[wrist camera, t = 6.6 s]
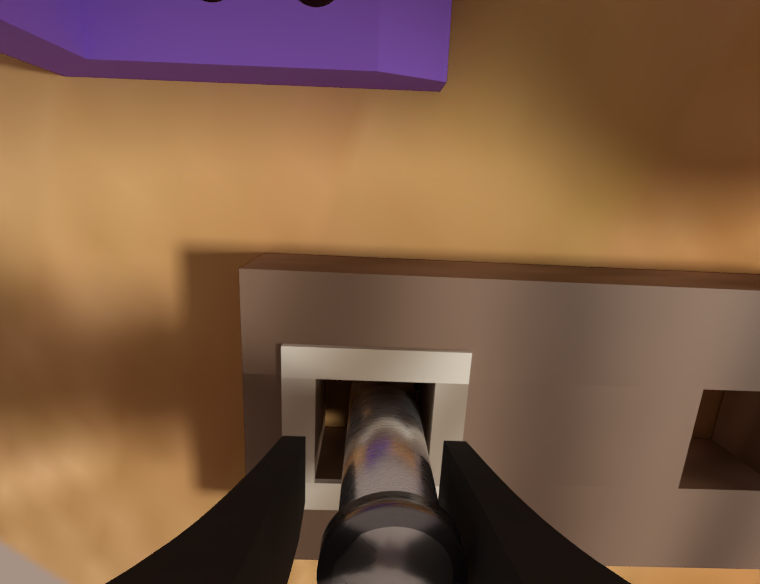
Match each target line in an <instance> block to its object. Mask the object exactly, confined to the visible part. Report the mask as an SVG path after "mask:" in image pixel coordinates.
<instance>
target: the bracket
mask: <svg viewBox="0 0 760 584" xmlns="http://www.w3.org/2000/svg"><path fill="white" fill-rule="evenodd" d="M451 8H452V0H334V1H332V2H331V3H330V4H328V5H326V6H323V7H310V6H307V5H305V4H303V3H301V2H300V1H299V0H222V1H219V2H213V3H212V2H205V1H202V0H0V53H3V54H5V55H8V56H11V57H13V58H16V59H19V60H22V61H24V62H27V63H30V64H32V65H35V66H38V67H41V68H43V69H46V70H49V71H51V72H54V73H57V74H60V75H62V76H70V77H94V78H119V79H144V80H168V81H193V82H217V83H242V84H266V85H291V86H316V87H340V88H365V89H389V90H414V91H438V92H440V91H441V90H442V88H443V87H444V85H445V84H446V82H447V69H448V54H449V39H450V23H451Z"/></svg>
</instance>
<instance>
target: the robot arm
mask: <svg viewBox="0 0 760 584" xmlns="http://www.w3.org/2000/svg"><path fill="white" fill-rule="evenodd" d="M305 469H306V436H282V437H281V438H280V439H279V440H278V441H277V442H276V443H275V444H274V445H273V447H272V448H271V449H270V450H269V451H268V452H267V453H266V454H265V456H264V457H263V458H262V459H261V460H260V461H259V462H258V463H257V464H256V465H255V467H254V468H253V469H252V470H251V471H250V472H249V473H248V474H247V475H246V476H245V477H244V478H243V479H242V480H241V481H240V482H239V483H238V484H237V485H236V486H235V487H234V488H233V489H232V490H231V491H230V492H229V493H228V494H227V495H225V496H224V497H223V498H222V499H221V500H220V501H219V502H218V503H217V504H216V505H215V506H214V507H212V508H211V509H210V510H209V511H208V512H207V513H206V514H204V515H203V516H202V517H201V518H200V519H199V520H197V521H196V522H195V523H194V524H193V525H191V526H190V527H189V528H187V529H186V530H185V531H184V532H182V533H181V534H180V535H178V536H177V537H176V538H174V539H173V540H172V541H170V542H169V543H167V544H166V545H164V546H163V547H161V548H160V549H158V550H157V551H156V552H154V553H153V554H151V555H150V556H148V557H147V558H145V559H144V560H142V561H141V562H139V563H138V564H136V565H135V566H133V567H132V568H130V569H129V570H127V571H126V572H124V573H122V574H121V575H119V576H117V577H116V578H114V579H112V580H111V581H109V582H107V583H106V584H287V582H288V579H289V575H290V572H291V568H292V564H293V561H294V557H295V553H296V550H297V546H298V542H299V537H300V531H301V526H302V519H303V513H304V507H305ZM438 501H439V506H441V507H442V508H443V509H444V510H445V511H446V512H447V513H448V514H449V515H450V516H451V517H452V519H453V520H454V522H455V523H456V525H457V527H458V530H459V532H460V535H461V539H462V543H463V547H464V551H465V555H466V559H467V564H468V582H467V584H631V583H629V582H628V581H626V580H624V579H623V578H621V577H620V576H619V575H617V574H616V573H614V572H613V571H611V570H610V569H608V568H607V567H605V566H604V565H602V564H601V563H599V562H598V561H596V560H595V559H594V558H592V557H591V556H589V555H588V554H587V553H585V552H584V551H582V550H581V549H580V548H578V547H577V546H576V545H575V544H573V543H572V542H571V541H570V540H568V539H567V538H566V537H564V536H563V535H562V534H561V533H559V532H558V531H557V530H555V529H554V528H553V527H552V526H551V525H550V524H548V523H547V522H546V521H545V520H544V519H542V518H541V517H540V516H539V515H538V514H537V513H536V512H535V511H534V510H533V509H531V508H530V507H529V506H528V505H527V504H526V503H525V502H524V501H523V500H522V499H521V498H520V497H519V496H517V495H516V494H515V493H514V492H513V491H512V490H511V489H510V488H509V487H508V486H507V485H506V484H505V483H504V482H503V481H502V480H501V478H500V477H499V476H498V475H497V474H496V473H495V472H494V471H493V470H492V469H491V468H490V467H489V466H488V465H487V464H486V462H485V461H484V460H483V459H482V458H481V457H480V456H479V455H478V454H477V453H476V451H475V450H474V449H473V448H472V447H471V446H470V445H469V444H468V443H467V442H466V441H444V443H443V453H442V464H441V474H440V485H439V496H438Z"/></svg>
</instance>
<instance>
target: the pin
mask: <svg viewBox="0 0 760 584" xmlns="http://www.w3.org/2000/svg"><path fill="white" fill-rule="evenodd" d="M467 582H468V564H467V559H466V555H465V551H464V547H463V543H462V539H461V535H460V532H459V530H458V527H457V525H456V523H455V522H454V520H453V519H452V517H451V516H450V515H449V514H448V513H447V512H446V511H445V510H444V509H443V508H442V507H441V506H439V501H438V497H437V492H436V487H435V483H434V478H433V473H432V469H431V464H430V460H429V455H428V450H427V446H426V441H425V436H424V432H423V427H422V422H421V418H420V413H419V409H418V404H417V399H416V395H415V390H414V385H413V382H390V381H361V380H352V384H351V394H350V403H349V413H348V423H347V433H346V442H345V452H344V462H343V472H342V482H341V491H340V501H339V511H338V512H337V513H336V514H335V515H334V517H333V518H332V519H331V521H330V522H329V523H328V525H327V527H326V529H325V531H324V534H323V536H322V541H321V546H320V553H319V560H318V567H317V584H467Z"/></svg>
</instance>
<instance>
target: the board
mask: <svg viewBox="0 0 760 584" xmlns="http://www.w3.org/2000/svg"><path fill="white" fill-rule="evenodd" d="M239 286H240V315H241V344H242V372H243V401H244V430H245V458H246V475H247V474H248V473H249V472H250V471H251V470H252V469H253V468H254V467H255V465H256V464H257V463H258V462H259V461H260V460H261V459H262V458H263V457H264V456H265V454H266V453H267V452H268V451H269V450H270V449H271V448H272V447H273V445H274V444H275V443H276V442H277V441H278V440H279V439H280V438H281V437H282V436H306V469H305V507H304V513H303V519H302V526H301V531H300V537H299V542H298V546H297V550H296V553H295V557H294V559H303V560H319V553H320V546H321V541H322V536H323V534H324V531H325V529H326V527H327V525H328V523H329V522H330V521H331V519H332V518H333V517H334V515H335V514H336V513H337V512H338V511H339V501H340V491H341V482H342V472H343V462H344V452H345V442H346V433H347V428H339V427H325V402H326V379H332V380H361V381H390V382H419V383H420V388H419V401H418V409H419V413H420V418H421V422H422V427H423V432H424V436H425V441H426V446H427V450H428V455H429V460H430V464H431V469H432V473H433V478H434V483H435V487H436V492H437V497H438V496H439V485H440V474H441V464H442V453H443V443H444V441H466V442H467V443H468V444H469V445H470V446H471V447H472V448H473V449H474V450H475V451H476V453H477V454H478V455H479V456H480V457H481V458H482V459H483V460H484V461H485V462H486V464H487V465H488V466H489V467H490V468H491V469H492V470H493V471H494V472H495V473H496V474H497V475H498V476H499V477H500V478H501V480H502V481H503V482H504V483H505V484H506V485H507V486H508V487H509V488H510V489H511V490H512V491H513V492H514V493H515V494H516V495H517V496H519V497H520V498H521V499H522V500H523V501H524V502H525V503H526V504H527V505H528V506H529V507H530V508H531V509H533V510H534V511H535V512H536V513H537V514H538V515H539V516H540V517H541V518H542V519H544V520H545V521H546V522H547V523H548V524H550V525H551V526H552V527H553V528H554V529H555V530H557V531H558V532H559V533H561V534H562V535H563V536H564V537H566V538H567V539H568V540H570V541H571V542H572V543H573V544H575V545H576V546H577V547H578V548H580V549H581V550H582V551H584V552H585V553H587V554H588V555H589V556H591V557H592V558H594V559H595V560H596V561H598V562H599V563H601V564H602V565H604V566H636V567H683V568H731V569H760V274H738V273H715V272H692V271H669V270H647V269H624V268H601V267H578V266H555V265H532V264H509V263H486V262H463V261H440V260H417V259H394V258H371V257H348V256H325V255H302V254H279V253H264V254H263V255H261V256H259V257H258V258H256V259H254V260H253V261H251V262H249V263H248V264H246V265H244V266H242V267H241V268H239ZM704 389H707V390H725V391H724V395H723V399H722V402H721V406H720V410H719V413H718V417H717V421H716V425H715V428H714V432H713V436H712V439H696V438H691V437H692V433H693V429H694V425H695V421H696V417H697V413H698V409H699V405H700V401H701V397H702V394H703V390H704Z"/></svg>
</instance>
